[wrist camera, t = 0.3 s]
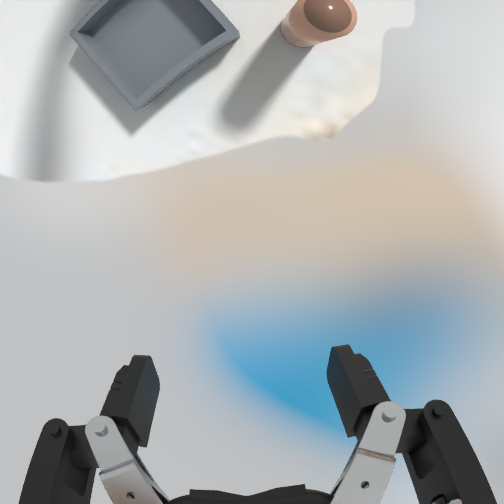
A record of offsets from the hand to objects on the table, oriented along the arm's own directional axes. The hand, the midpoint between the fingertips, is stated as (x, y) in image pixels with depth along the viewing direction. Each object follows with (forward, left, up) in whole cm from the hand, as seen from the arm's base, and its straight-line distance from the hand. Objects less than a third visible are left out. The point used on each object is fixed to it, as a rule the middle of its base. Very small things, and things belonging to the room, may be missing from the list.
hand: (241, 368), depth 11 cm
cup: (-10, +15, -30) cm, 35 cm away
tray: (-21, +1, -30) cm, 37 cm away
